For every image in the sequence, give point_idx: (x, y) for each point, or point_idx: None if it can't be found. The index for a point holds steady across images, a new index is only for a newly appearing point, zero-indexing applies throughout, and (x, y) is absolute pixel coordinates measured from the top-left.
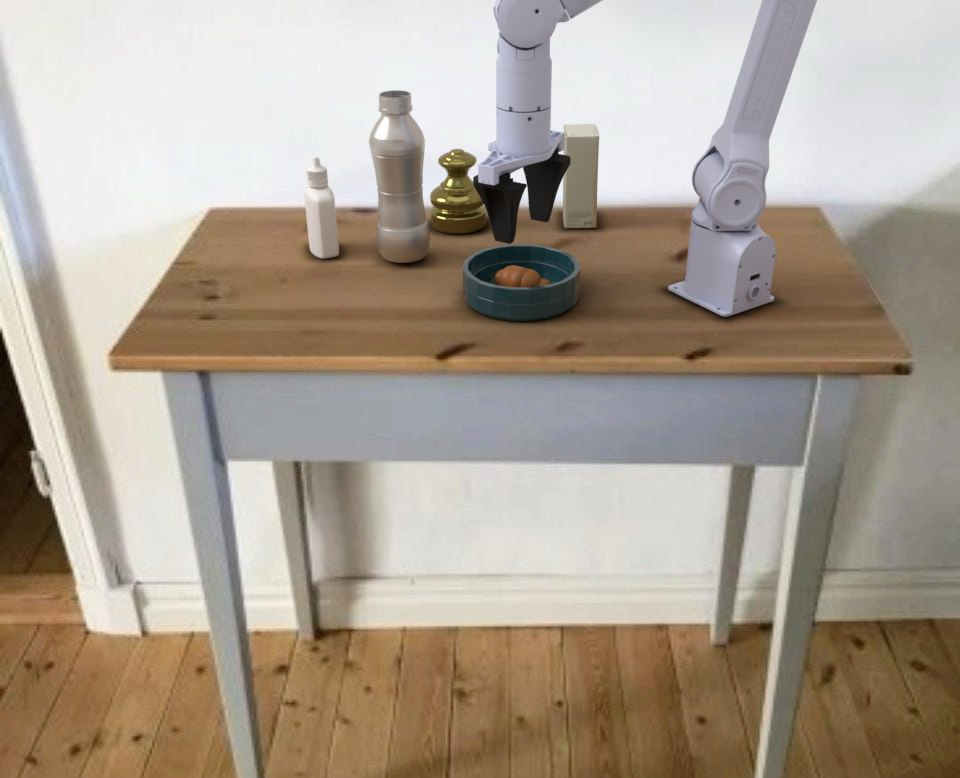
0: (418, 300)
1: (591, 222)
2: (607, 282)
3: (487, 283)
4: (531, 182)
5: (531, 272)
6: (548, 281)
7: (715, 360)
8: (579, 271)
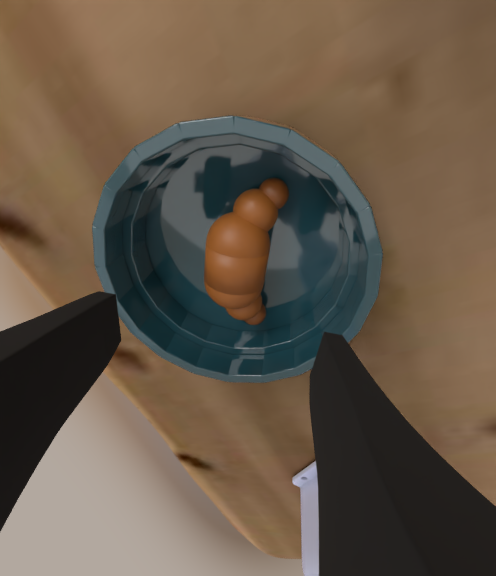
0: (115, 12)
1: None
2: (370, 356)
3: (99, 249)
4: (356, 455)
5: (224, 302)
6: (244, 318)
7: (190, 472)
8: (258, 382)
